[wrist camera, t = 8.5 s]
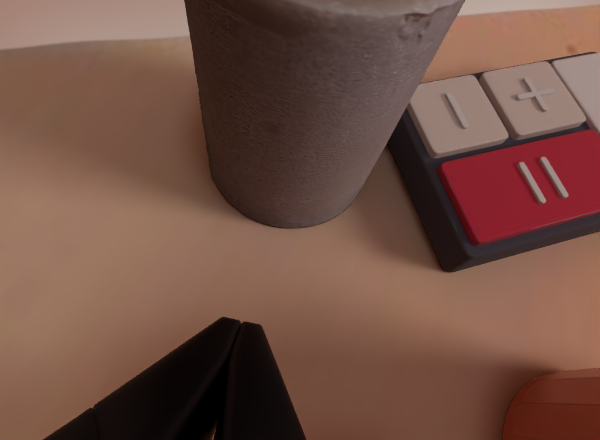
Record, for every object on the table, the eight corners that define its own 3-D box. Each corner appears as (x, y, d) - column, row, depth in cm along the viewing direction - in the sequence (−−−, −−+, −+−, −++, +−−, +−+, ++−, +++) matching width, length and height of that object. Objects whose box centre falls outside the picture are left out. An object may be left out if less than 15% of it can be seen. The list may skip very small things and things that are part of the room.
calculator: (392, 78, 22) (606, 40, 25) (374, 124, 26) (561, 87, 29) (475, 254, 18) (721, 187, 21) (439, 278, 22) (649, 218, 25)
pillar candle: (175, 146, 23) (72, -206, 10) (295, 72, 27) (343, -262, 13) (284, 265, 21) (349, 27, 7) (399, 167, 24) (587, -116, 11)
